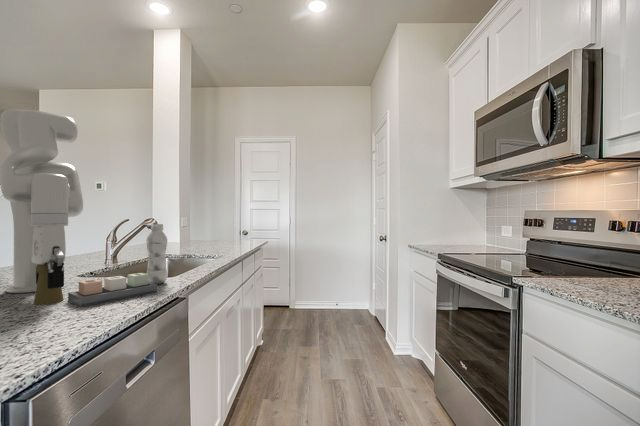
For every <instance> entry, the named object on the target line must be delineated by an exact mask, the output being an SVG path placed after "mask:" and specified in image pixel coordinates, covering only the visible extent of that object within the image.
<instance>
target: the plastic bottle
mask: <svg viewBox="0 0 640 426" xmlns="http://www.w3.org/2000/svg"><path fill="white" fill-rule="evenodd" d="M150 226H151V227H150V230H151V232H150V233H149V234H148V236H147V238H146V241H145V242H146V248H147V267H146V273H145V274H148V282H149V283H153V284H157V285H161V284H163V283H166V281H167V278H168V271H167V265H166V264H167V263H166V254H167V246H168V238H167V235H166V234H165V232H164V231H163V230H164V224H162V223H161V224H160V223H156V224H155V223H153V224H152V223H151V224H150Z"/></svg>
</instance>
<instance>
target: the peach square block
mask: <svg viewBox="0 0 640 426" xmlns="http://www.w3.org/2000/svg"><path fill="white" fill-rule="evenodd" d="M102 287H103V280H100V279H96V278H95V279H88V280H81V281H80V280H79V281H78V291H79V293H80V294H82V295H89V294H95V293H101V292H102Z"/></svg>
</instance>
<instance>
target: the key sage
mask: <svg viewBox="0 0 640 426" xmlns="http://www.w3.org/2000/svg"><path fill="white" fill-rule="evenodd" d="M126 283H127V285H129V286H133V287H136V286H141V285H147V284H148V274H146V273H145V272H138V273H137V272H136V273H130V274H129V273H128V274H127V275H126Z"/></svg>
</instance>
